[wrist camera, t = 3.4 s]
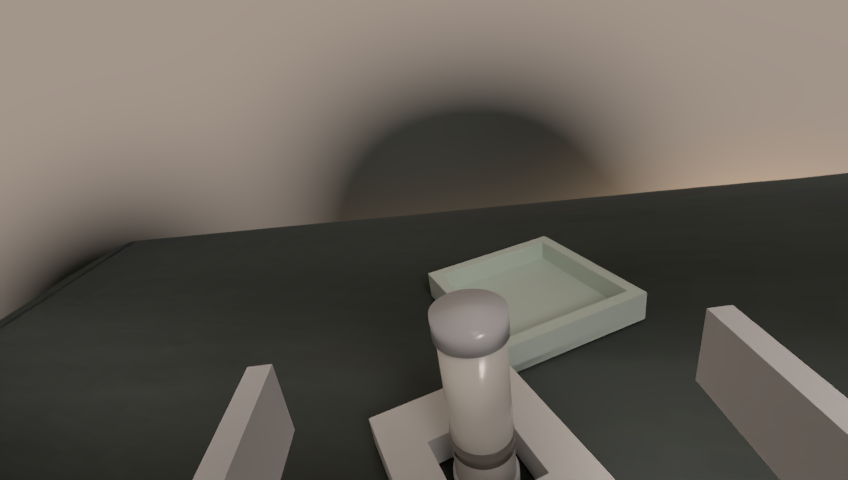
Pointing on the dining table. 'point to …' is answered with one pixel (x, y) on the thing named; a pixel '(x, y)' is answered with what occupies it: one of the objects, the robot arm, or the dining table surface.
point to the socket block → (430, 441)
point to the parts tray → (547, 297)
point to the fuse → (476, 382)
